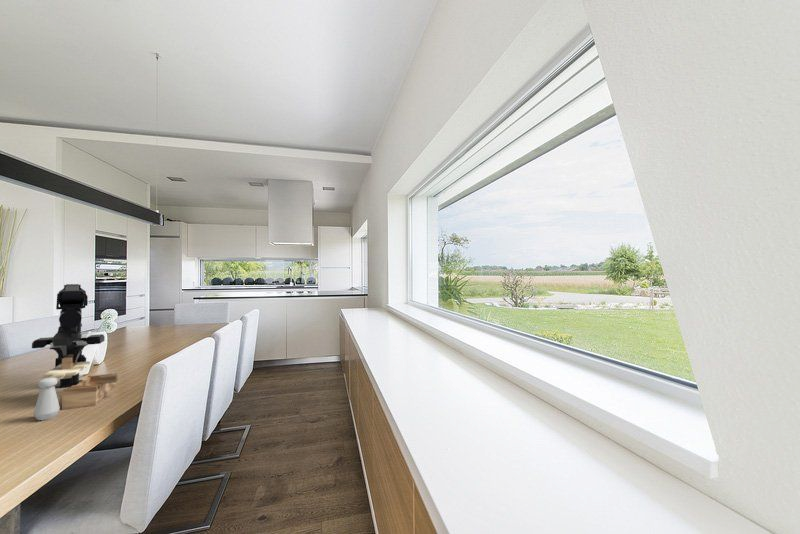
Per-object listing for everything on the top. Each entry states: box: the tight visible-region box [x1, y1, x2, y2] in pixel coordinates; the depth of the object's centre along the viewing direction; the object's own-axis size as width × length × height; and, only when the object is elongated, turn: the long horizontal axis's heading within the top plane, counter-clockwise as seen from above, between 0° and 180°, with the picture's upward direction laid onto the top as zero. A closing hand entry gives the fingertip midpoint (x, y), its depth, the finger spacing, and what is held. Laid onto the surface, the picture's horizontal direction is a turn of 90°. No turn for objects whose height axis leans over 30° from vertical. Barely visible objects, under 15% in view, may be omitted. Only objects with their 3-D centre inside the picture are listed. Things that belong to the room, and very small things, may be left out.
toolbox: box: [61, 372, 118, 411], centre depth 123 cm, size 22×9×7 cm, turn 27°
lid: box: [42, 354, 91, 380], centre depth 120 cm, size 17×9×6 cm, turn 29°
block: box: [98, 373, 119, 384], centre depth 122 cm, size 2×5×2 cm, turn 117°
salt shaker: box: [33, 377, 61, 422], centre depth 106 cm, size 6×6×13 cm
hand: (69, 363), depth 122 cm, fingers closed on lid, 2 cm apart
